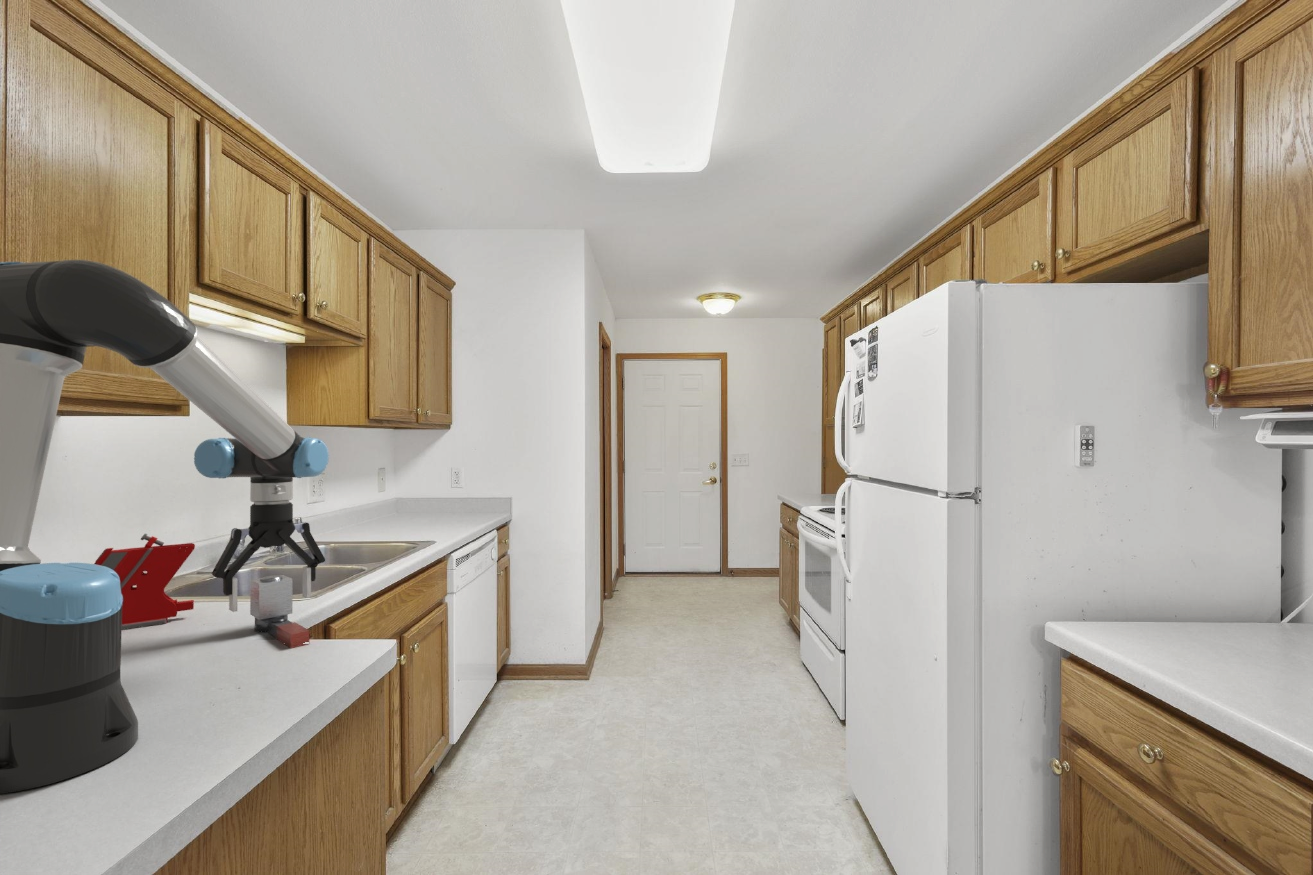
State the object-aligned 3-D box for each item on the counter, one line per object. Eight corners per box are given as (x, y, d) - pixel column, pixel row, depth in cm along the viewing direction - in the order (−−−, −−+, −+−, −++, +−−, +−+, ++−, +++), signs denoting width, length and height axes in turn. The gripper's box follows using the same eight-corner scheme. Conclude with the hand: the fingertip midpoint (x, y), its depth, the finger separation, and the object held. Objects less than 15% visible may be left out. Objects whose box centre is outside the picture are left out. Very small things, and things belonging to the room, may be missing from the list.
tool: (13, 639, 112) (90, 518, 118) (19, 631, 116) (93, 514, 122) (163, 665, 126) (225, 555, 132) (163, 657, 130) (224, 551, 136)
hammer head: (250, 614, 123) (250, 577, 123) (282, 608, 127) (282, 572, 127) (259, 619, 119) (259, 582, 119) (292, 613, 123) (292, 576, 123)
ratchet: (282, 650, 110) (283, 615, 110) (251, 628, 123) (251, 597, 123) (316, 642, 114) (316, 608, 114) (282, 622, 127) (282, 592, 127)
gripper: (203, 508, 111) (202, 620, 111) (341, 499, 130) (341, 594, 130) (194, 506, 116) (193, 613, 116) (328, 497, 135) (328, 589, 135)
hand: (271, 603), depth 123 cm, fingers open, 13 cm apart
